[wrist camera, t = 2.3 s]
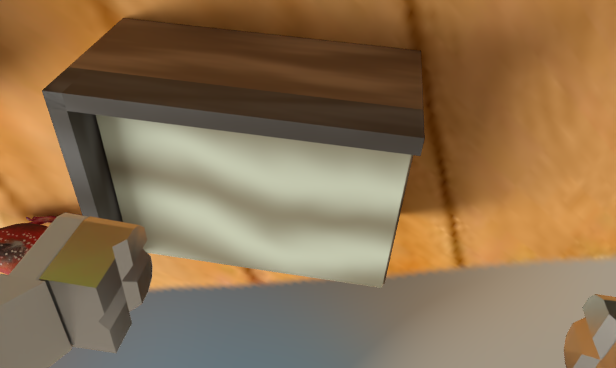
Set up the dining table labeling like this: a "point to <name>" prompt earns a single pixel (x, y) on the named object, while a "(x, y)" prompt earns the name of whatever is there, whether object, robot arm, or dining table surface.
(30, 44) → the dining table surface
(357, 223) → the open wooden crate
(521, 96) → the dining table surface
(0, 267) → the decorative bird figurine
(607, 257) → the dining table surface
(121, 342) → the robot arm
